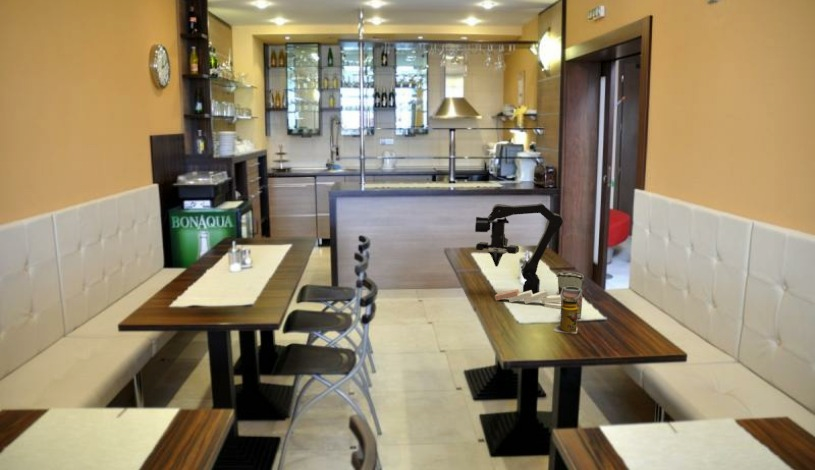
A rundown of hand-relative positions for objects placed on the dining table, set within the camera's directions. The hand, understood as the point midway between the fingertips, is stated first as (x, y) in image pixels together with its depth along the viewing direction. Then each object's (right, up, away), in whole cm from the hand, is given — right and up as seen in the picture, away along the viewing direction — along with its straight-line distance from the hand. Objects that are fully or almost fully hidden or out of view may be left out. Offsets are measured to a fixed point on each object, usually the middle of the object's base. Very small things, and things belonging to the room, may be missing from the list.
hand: (496, 266), depth 280 cm
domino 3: (+10, -14, -12) cm, 21 cm away
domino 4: (+17, -14, -14) cm, 26 cm away
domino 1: (-1, -13, -6) cm, 15 cm away
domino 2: (+4, -14, -9) cm, 17 cm away
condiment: (+20, -22, -45) cm, 54 cm away
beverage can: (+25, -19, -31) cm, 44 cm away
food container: (+34, -13, +4) cm, 37 cm away
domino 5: (+19, -16, -15) cm, 29 cm away
